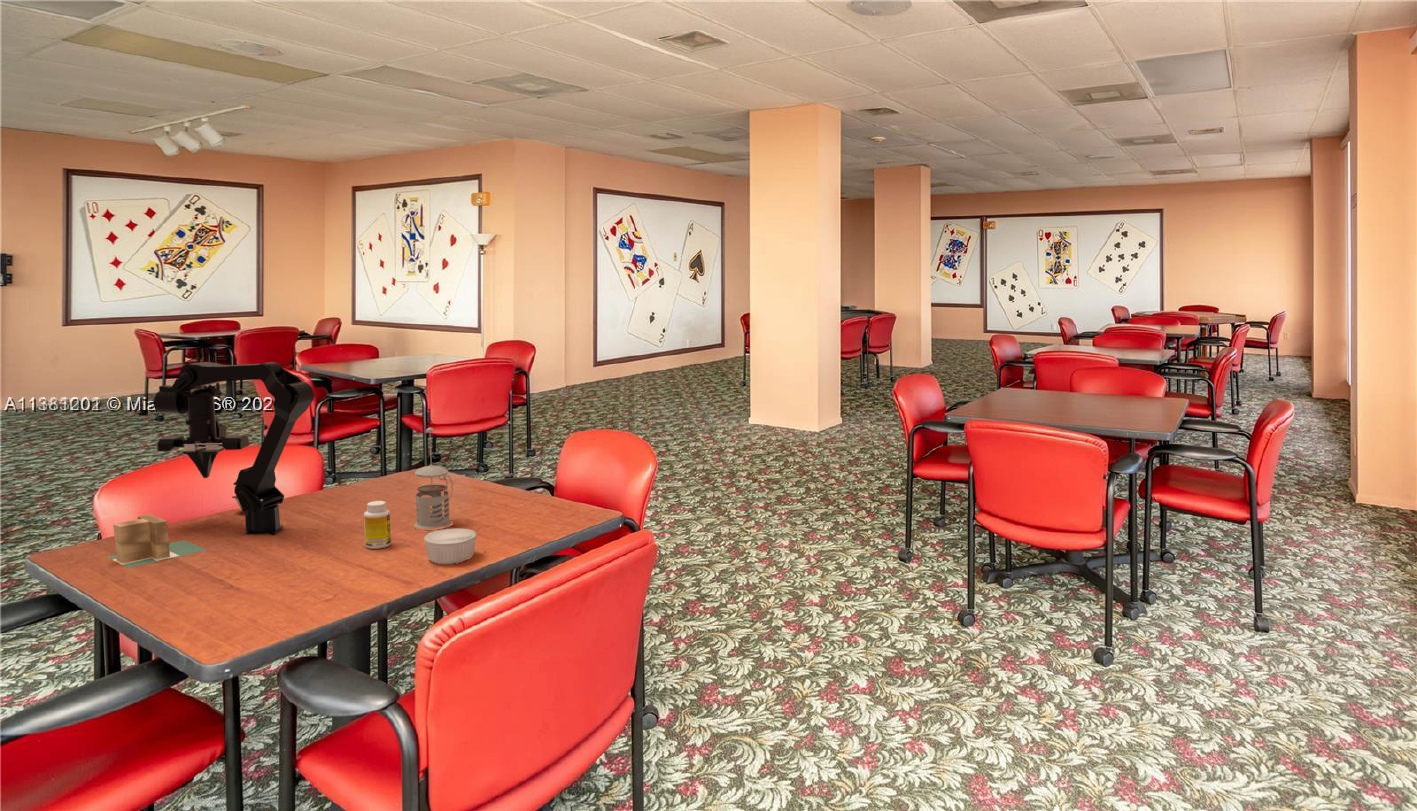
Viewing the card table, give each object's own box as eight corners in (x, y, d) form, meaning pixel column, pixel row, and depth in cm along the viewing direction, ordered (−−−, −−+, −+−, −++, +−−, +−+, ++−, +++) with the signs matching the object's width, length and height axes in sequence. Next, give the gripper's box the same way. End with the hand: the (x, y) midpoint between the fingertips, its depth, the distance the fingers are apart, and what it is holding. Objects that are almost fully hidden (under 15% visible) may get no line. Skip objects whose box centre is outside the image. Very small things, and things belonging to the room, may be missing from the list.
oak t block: (153, 548, 189) (150, 514, 188) (169, 556, 183) (167, 521, 182) (111, 557, 182) (108, 521, 181) (128, 565, 177) (124, 529, 176)
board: (184, 542, 195) (184, 540, 195) (207, 552, 188) (207, 549, 188) (106, 558, 183) (106, 556, 183) (128, 570, 176) (128, 567, 176)
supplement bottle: (392, 547, 192) (390, 504, 191) (366, 550, 190) (364, 507, 189) (390, 541, 197) (388, 498, 196) (364, 544, 195) (362, 501, 193)
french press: (404, 528, 208) (400, 429, 205) (435, 516, 219) (432, 422, 215) (436, 532, 205) (432, 431, 201) (466, 520, 215) (463, 424, 212)
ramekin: (448, 569, 178) (447, 545, 177) (413, 560, 184) (412, 537, 183) (488, 556, 187) (487, 533, 187) (453, 547, 193) (452, 525, 192)
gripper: (255, 409, 211) (259, 469, 213) (175, 410, 208) (180, 471, 211) (237, 415, 200) (242, 479, 202) (153, 416, 198) (158, 481, 200)
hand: (206, 477), depth 204 cm, fingers closed
